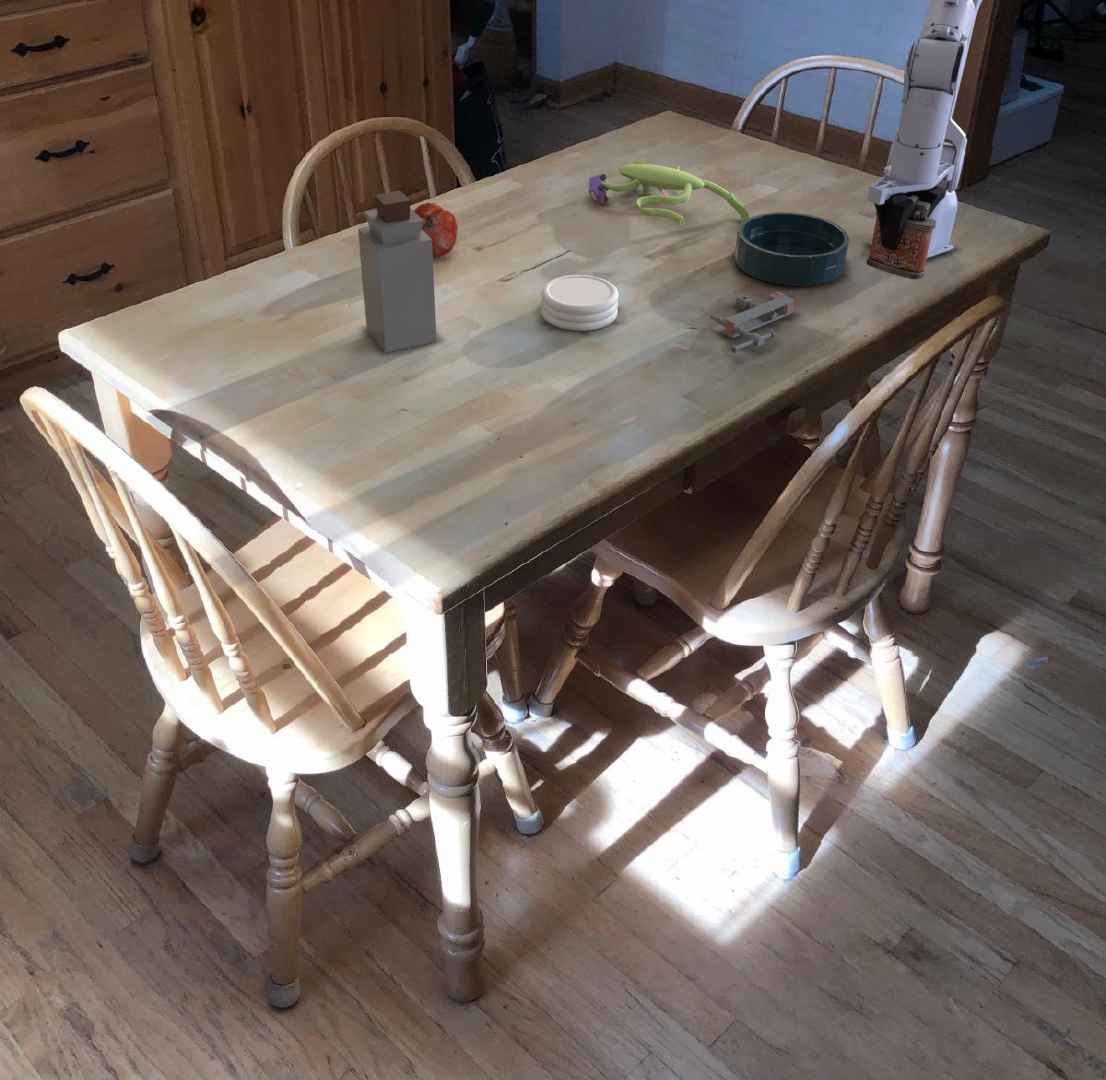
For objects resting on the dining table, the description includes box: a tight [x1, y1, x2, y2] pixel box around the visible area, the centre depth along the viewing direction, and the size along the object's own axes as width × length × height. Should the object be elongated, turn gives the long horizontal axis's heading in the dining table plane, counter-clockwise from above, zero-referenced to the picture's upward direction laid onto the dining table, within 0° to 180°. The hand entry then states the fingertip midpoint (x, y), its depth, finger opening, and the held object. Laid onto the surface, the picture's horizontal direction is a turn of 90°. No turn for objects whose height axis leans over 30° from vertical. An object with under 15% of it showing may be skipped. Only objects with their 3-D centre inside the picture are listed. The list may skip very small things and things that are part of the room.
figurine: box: [587, 159, 750, 226], centre depth 186 cm, size 18×27×6 cm
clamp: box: [709, 291, 795, 354], centre depth 156 cm, size 15×2×10 cm
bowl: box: [734, 211, 850, 287], centre depth 171 cm, size 15×15×4 cm
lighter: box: [865, 195, 936, 281], centre depth 159 cm, size 8×3×10 cm, turn 51°
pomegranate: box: [413, 202, 459, 257], centre depth 172 cm, size 7×7×10 cm
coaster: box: [540, 274, 620, 332], centre depth 158 cm, size 10×10×4 cm
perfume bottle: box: [357, 190, 438, 353], centre depth 148 cm, size 7×7×18 cm
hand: (899, 243), depth 160 cm, fingers closed on lighter, 4 cm apart
